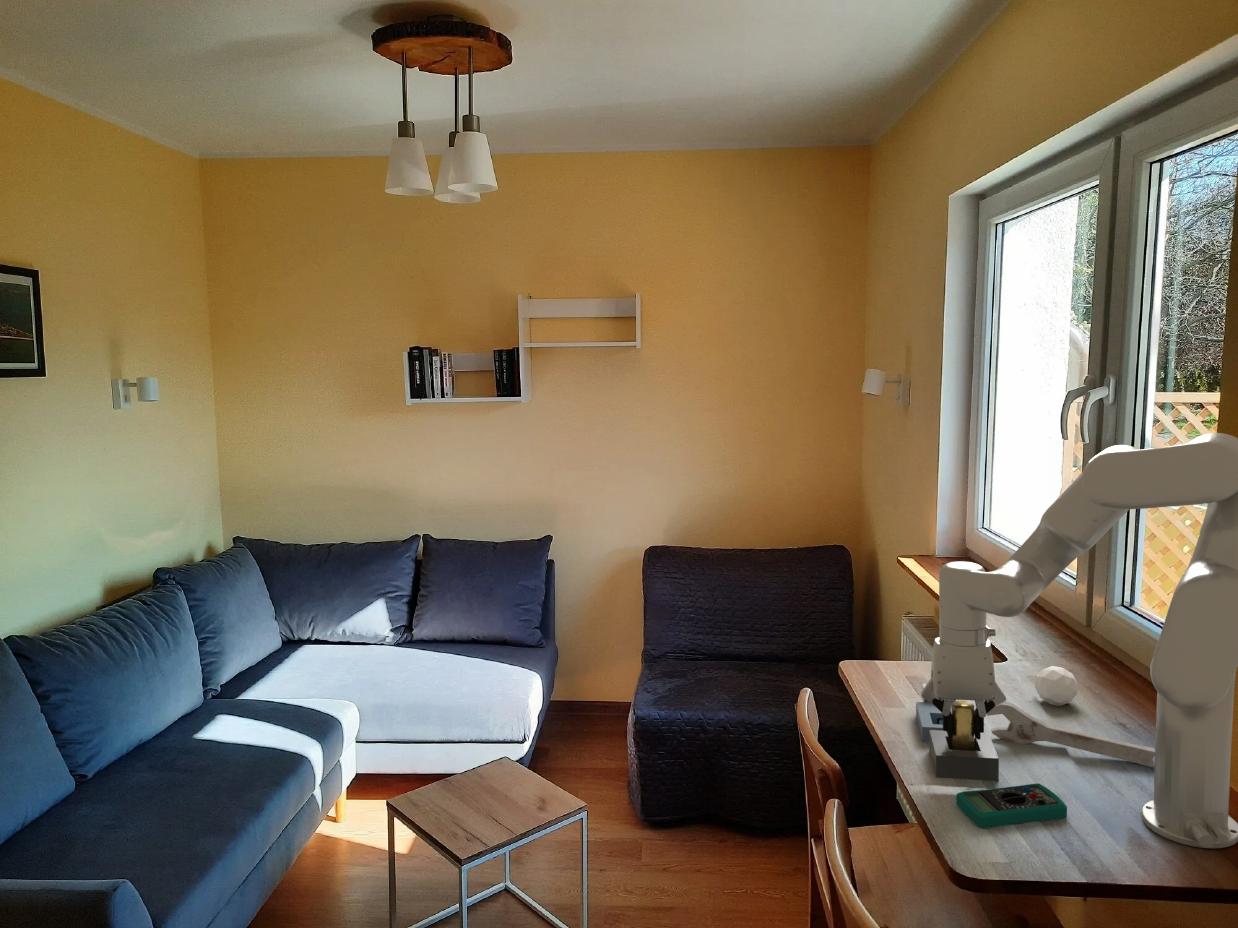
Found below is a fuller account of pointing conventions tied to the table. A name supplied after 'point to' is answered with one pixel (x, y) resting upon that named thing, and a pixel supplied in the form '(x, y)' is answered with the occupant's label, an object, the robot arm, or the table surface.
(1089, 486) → the robot arm
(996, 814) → the digital multimeter
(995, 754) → the grey slotted block
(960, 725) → the peg
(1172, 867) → the table surface
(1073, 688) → the ball
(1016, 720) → the wrench
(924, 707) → the socket block
